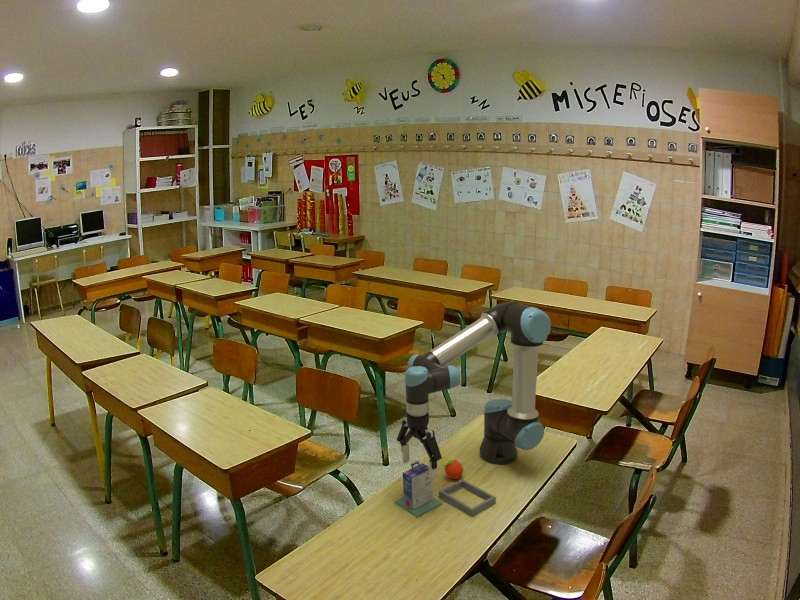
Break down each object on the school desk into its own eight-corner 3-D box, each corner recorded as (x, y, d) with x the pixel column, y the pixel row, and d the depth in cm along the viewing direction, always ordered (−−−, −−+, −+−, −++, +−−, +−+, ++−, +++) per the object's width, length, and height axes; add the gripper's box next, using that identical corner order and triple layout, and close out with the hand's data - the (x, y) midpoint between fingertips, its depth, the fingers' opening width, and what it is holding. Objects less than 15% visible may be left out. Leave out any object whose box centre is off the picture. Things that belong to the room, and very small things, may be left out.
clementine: (447, 484, 226) (447, 467, 224) (439, 475, 232) (439, 458, 231) (466, 480, 229) (466, 463, 227) (458, 471, 235) (458, 454, 233)
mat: (419, 490, 223) (419, 488, 222) (442, 504, 214) (442, 502, 214) (394, 502, 215) (394, 501, 215) (417, 517, 206) (417, 516, 206)
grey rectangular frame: (462, 485, 226) (462, 479, 225) (495, 503, 214) (495, 497, 213) (438, 497, 218) (438, 491, 217) (472, 516, 206) (472, 510, 206)
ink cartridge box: (423, 493, 220) (422, 456, 216) (433, 499, 215) (433, 462, 212) (402, 503, 213) (401, 466, 210) (412, 510, 209) (412, 472, 206)
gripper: (385, 404, 213) (387, 459, 218) (435, 427, 194) (436, 487, 200) (401, 398, 218) (403, 452, 223) (451, 420, 199) (452, 478, 204)
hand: (419, 469), depth 211 cm, fingers open, 13 cm apart
